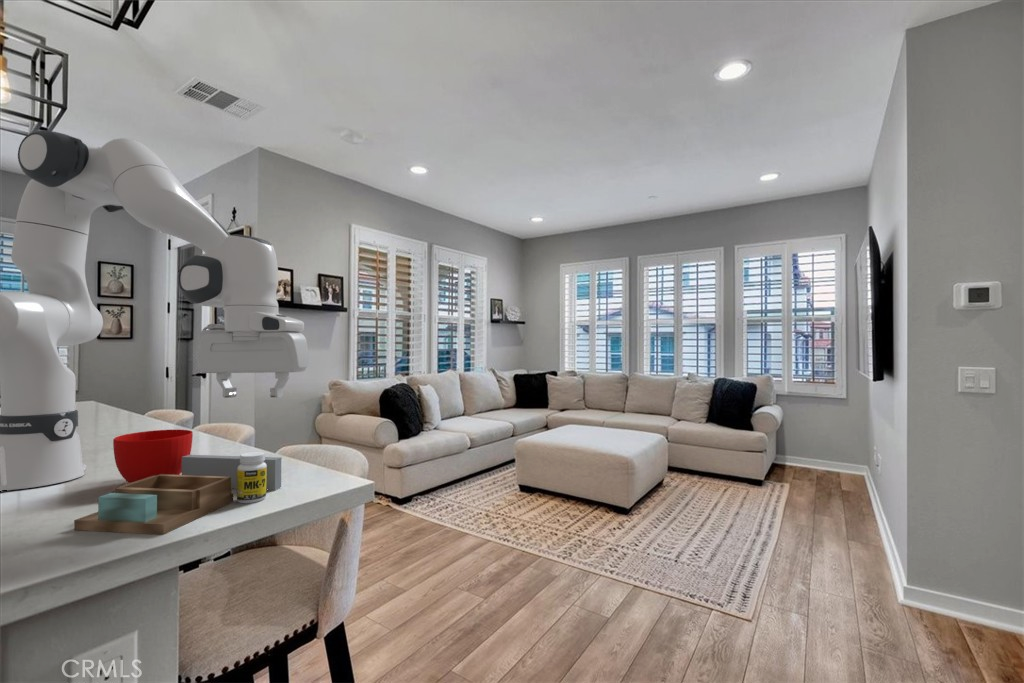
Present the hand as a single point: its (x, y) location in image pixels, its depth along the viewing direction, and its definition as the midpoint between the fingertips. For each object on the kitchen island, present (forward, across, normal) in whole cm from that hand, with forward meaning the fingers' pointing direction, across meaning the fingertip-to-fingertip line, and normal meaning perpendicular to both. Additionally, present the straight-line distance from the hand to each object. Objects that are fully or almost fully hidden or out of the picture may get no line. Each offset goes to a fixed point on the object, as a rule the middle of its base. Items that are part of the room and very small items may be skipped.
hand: (253, 397), depth 87 cm
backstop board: (+19, -9, +6) cm, 22 cm away
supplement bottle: (+19, 0, 0) cm, 19 cm away
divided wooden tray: (+18, -10, -10) cm, 23 cm away
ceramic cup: (+18, -28, +7) cm, 35 cm away
